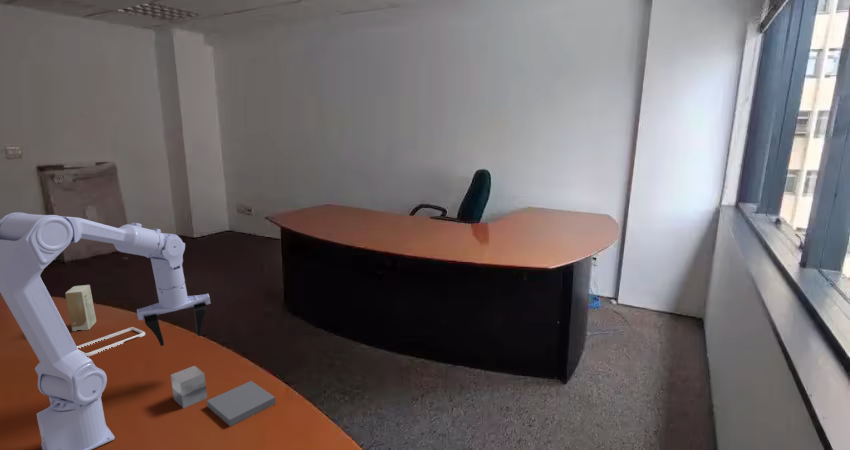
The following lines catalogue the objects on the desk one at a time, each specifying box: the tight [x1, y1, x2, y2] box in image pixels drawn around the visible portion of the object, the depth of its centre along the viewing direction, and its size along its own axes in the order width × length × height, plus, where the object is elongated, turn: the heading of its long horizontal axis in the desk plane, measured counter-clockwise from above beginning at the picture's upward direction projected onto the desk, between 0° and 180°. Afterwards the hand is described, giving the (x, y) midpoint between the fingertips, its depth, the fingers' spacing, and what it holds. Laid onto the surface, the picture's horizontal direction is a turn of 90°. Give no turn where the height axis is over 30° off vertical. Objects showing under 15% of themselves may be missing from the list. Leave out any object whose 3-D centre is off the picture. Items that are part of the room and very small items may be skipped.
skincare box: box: [64, 284, 97, 332], centre depth 134 cm, size 6×4×12 cm
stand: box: [206, 380, 277, 427], centre depth 96 cm, size 10×10×2 cm
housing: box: [170, 365, 208, 409], centre depth 98 cm, size 5×5×6 cm
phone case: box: [76, 326, 146, 357], centre depth 125 cm, size 7×1×15 cm
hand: (180, 338), depth 105 cm, fingers open, 7 cm apart
